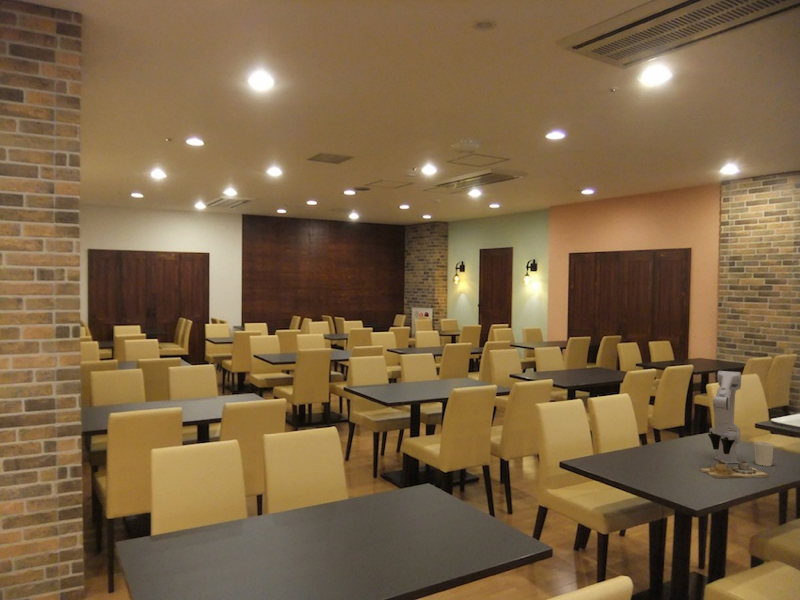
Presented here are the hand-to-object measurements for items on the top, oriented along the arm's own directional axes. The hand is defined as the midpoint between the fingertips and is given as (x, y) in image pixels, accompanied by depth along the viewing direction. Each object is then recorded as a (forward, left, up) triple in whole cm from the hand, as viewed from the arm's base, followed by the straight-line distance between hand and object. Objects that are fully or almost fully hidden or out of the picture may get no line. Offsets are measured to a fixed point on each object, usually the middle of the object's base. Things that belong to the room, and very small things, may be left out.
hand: (721, 451), depth 268 cm
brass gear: (+4, -2, -8) cm, 9 cm away
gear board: (+4, +4, -9) cm, 11 cm away
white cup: (-9, +28, -9) cm, 31 cm away
